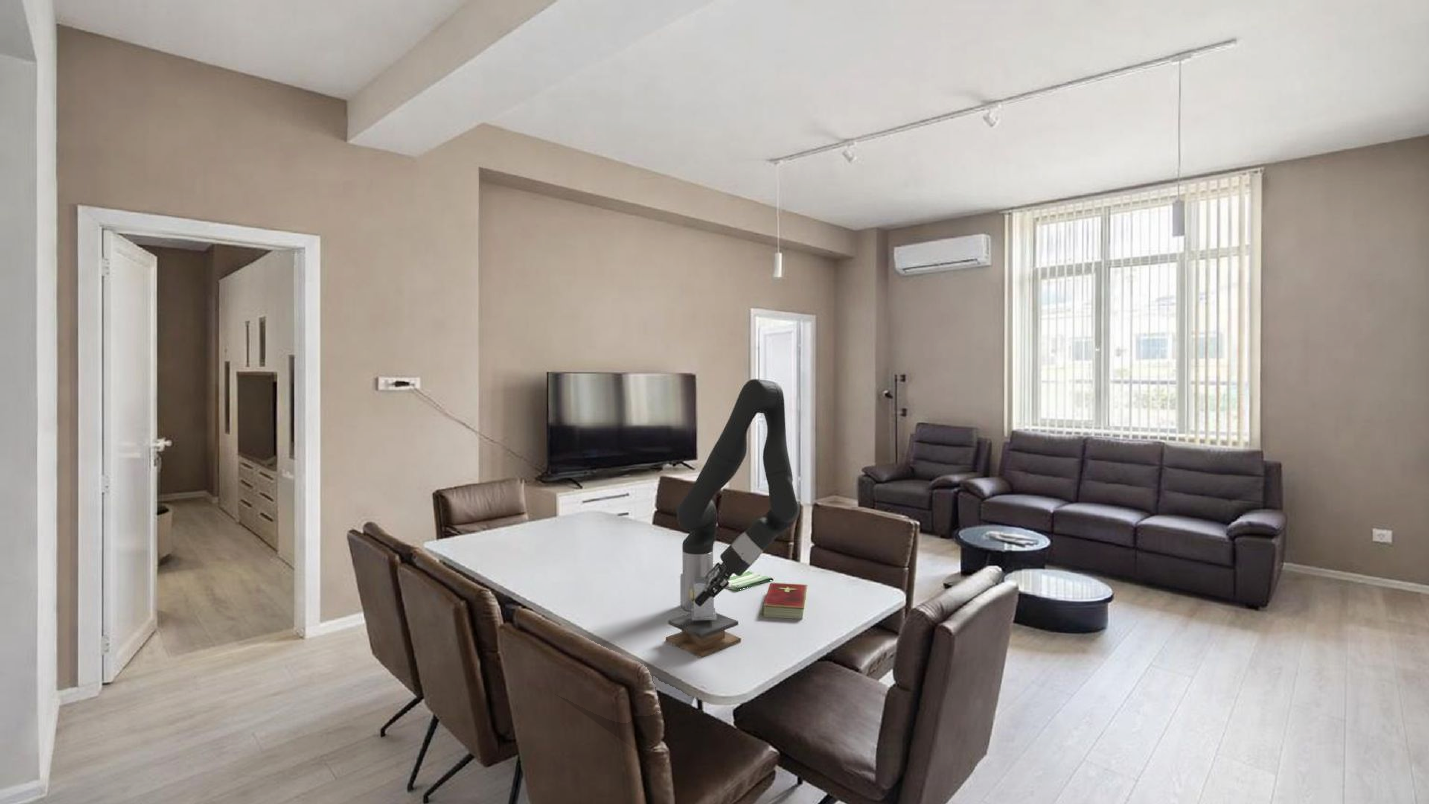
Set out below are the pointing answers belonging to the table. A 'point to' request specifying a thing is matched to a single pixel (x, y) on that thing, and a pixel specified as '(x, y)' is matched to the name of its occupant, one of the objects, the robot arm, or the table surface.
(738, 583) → the dish towel
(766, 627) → the table surface
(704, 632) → the stand
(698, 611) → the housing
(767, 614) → the hardcover book
